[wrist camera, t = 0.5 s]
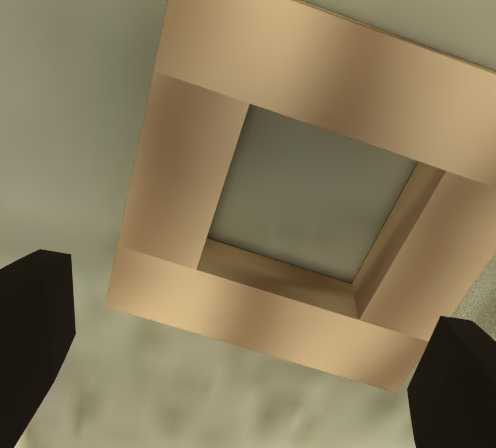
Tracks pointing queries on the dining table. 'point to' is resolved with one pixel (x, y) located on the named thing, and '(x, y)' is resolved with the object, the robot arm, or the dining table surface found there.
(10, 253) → the dining table surface
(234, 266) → the square wooden frame
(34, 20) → the dining table surface
